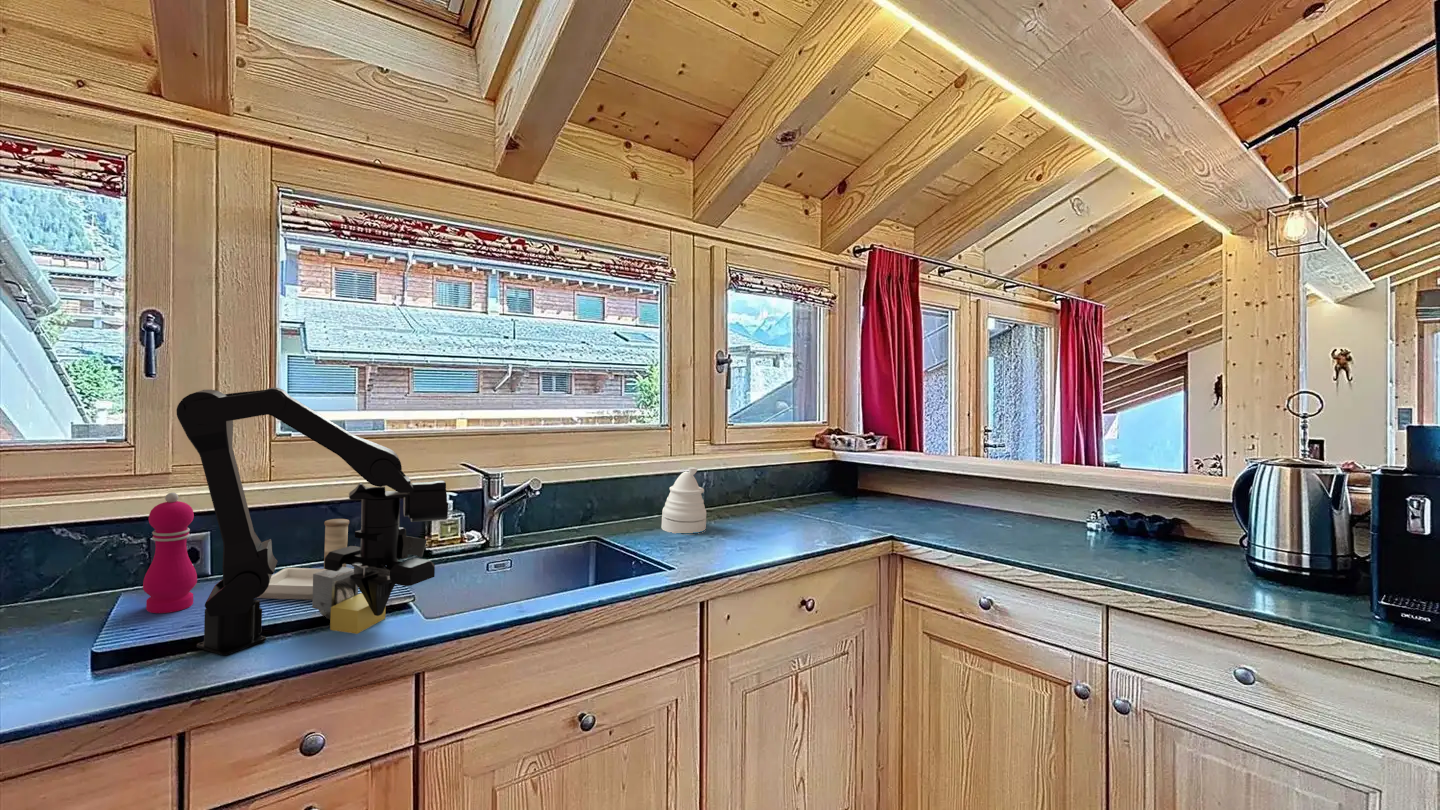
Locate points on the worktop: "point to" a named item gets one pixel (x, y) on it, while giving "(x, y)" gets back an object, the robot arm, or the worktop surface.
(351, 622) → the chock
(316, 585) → the wheel bracket
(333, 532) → the pin
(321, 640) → the worktop surface
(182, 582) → the pepper mill
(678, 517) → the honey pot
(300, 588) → the tray
